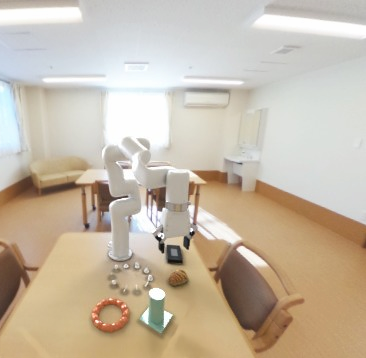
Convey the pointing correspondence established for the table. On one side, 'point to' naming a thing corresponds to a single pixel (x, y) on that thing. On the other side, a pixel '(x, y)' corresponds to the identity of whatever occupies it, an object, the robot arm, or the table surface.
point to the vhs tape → (174, 254)
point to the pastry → (178, 277)
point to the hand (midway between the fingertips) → (174, 249)
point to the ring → (114, 326)
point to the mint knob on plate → (156, 311)
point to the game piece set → (137, 268)
